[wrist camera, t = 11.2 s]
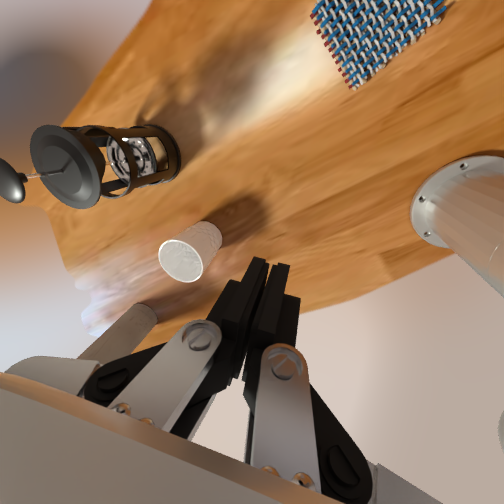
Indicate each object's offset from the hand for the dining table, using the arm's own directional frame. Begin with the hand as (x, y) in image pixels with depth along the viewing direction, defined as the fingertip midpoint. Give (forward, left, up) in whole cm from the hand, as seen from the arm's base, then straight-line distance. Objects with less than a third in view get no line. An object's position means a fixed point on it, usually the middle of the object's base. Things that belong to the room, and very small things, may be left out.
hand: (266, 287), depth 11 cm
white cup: (+16, +14, -29) cm, 36 cm away
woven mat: (-4, -18, -30) cm, 35 cm away
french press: (+26, 0, -29) cm, 39 cm away
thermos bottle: (+34, +42, -29) cm, 62 cm away
